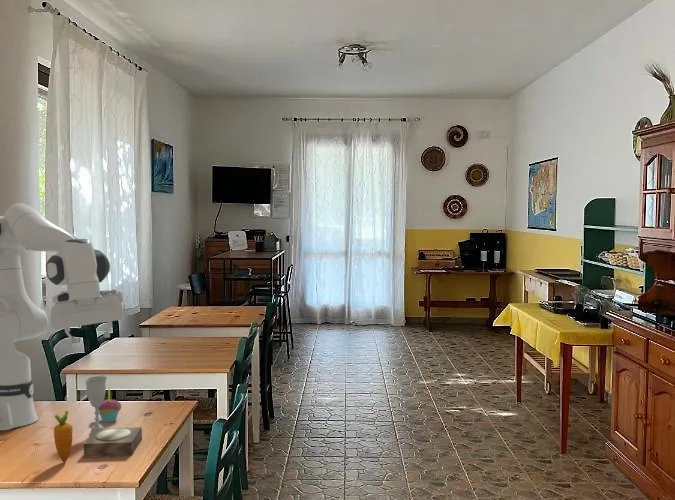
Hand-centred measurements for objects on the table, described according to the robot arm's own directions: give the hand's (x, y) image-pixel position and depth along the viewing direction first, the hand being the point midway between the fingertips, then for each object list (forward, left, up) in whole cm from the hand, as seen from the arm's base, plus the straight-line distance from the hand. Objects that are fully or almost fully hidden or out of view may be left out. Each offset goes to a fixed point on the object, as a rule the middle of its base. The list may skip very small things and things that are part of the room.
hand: (90, 340), depth 202 cm
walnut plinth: (+3, +8, -35) cm, 36 cm away
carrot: (-8, -2, -35) cm, 36 cm away
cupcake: (-6, +37, -35) cm, 52 cm away
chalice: (-6, +23, -35) cm, 43 cm away
